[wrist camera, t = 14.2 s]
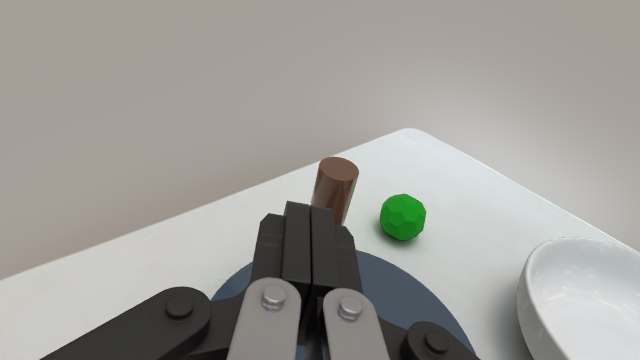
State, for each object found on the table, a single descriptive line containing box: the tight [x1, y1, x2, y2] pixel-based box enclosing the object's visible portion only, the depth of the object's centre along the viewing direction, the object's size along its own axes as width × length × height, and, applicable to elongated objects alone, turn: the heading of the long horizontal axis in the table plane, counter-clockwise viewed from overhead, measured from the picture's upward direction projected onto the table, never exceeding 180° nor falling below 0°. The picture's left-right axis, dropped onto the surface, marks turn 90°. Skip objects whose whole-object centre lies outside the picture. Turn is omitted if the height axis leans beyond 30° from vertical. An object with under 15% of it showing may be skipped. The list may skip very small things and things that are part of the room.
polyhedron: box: [380, 194, 426, 240], centre depth 41 cm, size 5×5×5 cm
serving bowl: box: [517, 237, 640, 360], centre depth 31 cm, size 21×21×7 cm
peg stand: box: [210, 157, 476, 360], centre depth 25 cm, size 22×22×14 cm
